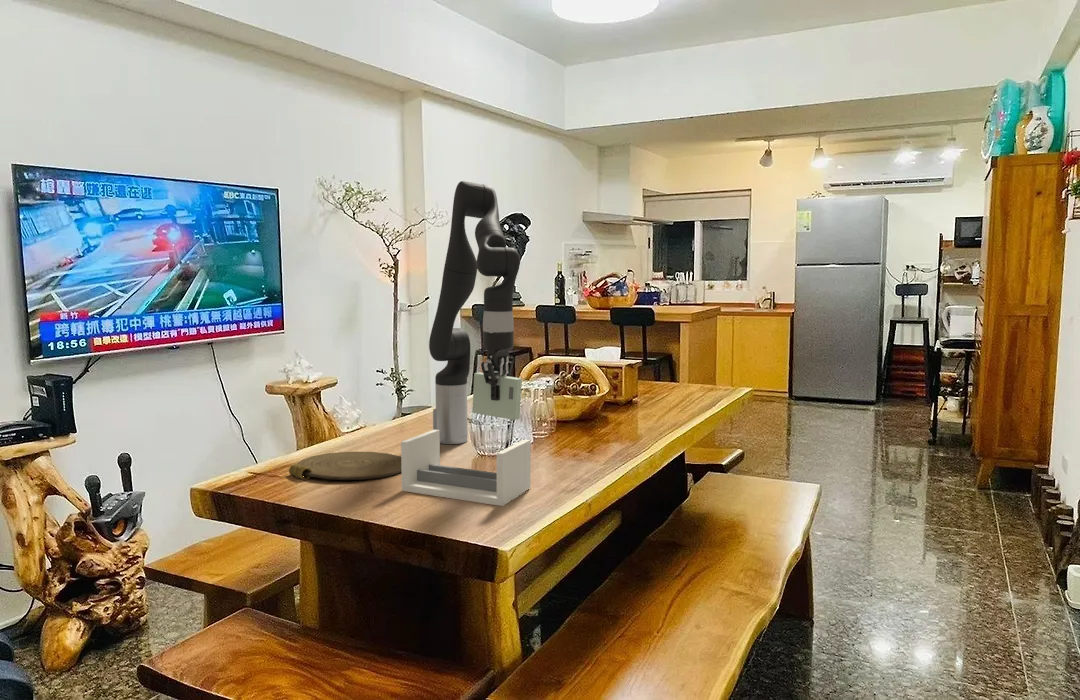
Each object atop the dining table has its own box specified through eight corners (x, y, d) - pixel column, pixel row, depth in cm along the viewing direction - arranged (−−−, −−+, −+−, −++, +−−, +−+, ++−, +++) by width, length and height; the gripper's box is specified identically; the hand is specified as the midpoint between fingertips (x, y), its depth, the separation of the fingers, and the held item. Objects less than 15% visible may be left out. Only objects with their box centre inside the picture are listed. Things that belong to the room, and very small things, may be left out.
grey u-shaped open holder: (401, 490, 171) (401, 441, 169) (434, 475, 183) (434, 429, 182) (502, 506, 160) (502, 453, 159) (530, 488, 173) (530, 440, 171)
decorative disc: (433, 460, 191) (330, 479, 169) (433, 473, 191) (330, 493, 169) (368, 442, 210) (268, 456, 188) (368, 454, 211) (268, 469, 189)
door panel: (471, 412, 186) (473, 373, 185) (476, 411, 188) (479, 372, 187) (514, 420, 181) (517, 379, 180) (519, 418, 184) (521, 378, 182)
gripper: (497, 326, 190) (497, 393, 192) (470, 331, 177) (470, 402, 179) (524, 328, 187) (523, 396, 189) (498, 332, 174) (498, 405, 176)
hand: (498, 398), depth 184 cm, fingers closed on door panel, 2 cm apart
